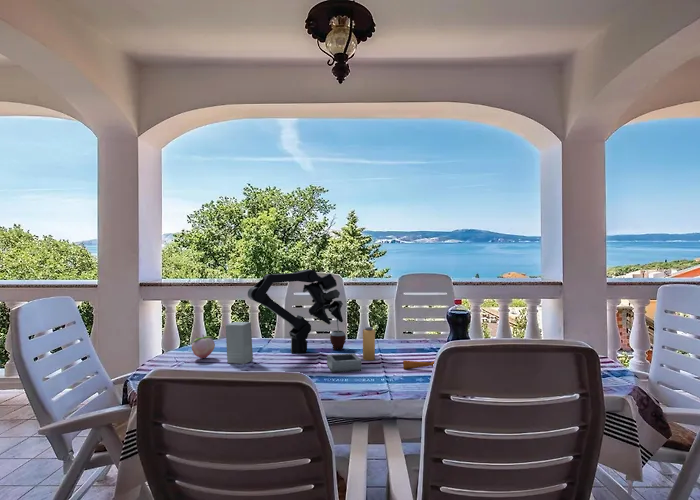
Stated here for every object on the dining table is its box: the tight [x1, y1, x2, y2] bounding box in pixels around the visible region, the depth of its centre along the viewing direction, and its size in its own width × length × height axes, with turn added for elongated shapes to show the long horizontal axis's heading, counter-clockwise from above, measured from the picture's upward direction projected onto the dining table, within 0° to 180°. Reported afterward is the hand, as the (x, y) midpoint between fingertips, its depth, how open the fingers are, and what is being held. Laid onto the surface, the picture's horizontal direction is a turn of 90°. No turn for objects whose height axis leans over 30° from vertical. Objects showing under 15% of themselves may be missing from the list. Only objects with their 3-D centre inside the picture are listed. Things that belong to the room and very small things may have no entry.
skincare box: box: [225, 321, 254, 365], centre depth 167 cm, size 8×7×16 cm
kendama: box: [402, 359, 435, 370], centre depth 156 cm, size 6×6×20 cm
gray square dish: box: [326, 353, 362, 374], centre depth 158 cm, size 11×11×4 cm
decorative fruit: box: [191, 334, 216, 359], centre depth 172 cm, size 9×8×10 cm
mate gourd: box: [329, 319, 347, 351], centre depth 190 cm, size 8×8×15 cm
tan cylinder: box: [362, 326, 376, 362], centre depth 172 cm, size 5×5×13 cm
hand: (336, 322), depth 181 cm, fingers open, 9 cm apart
